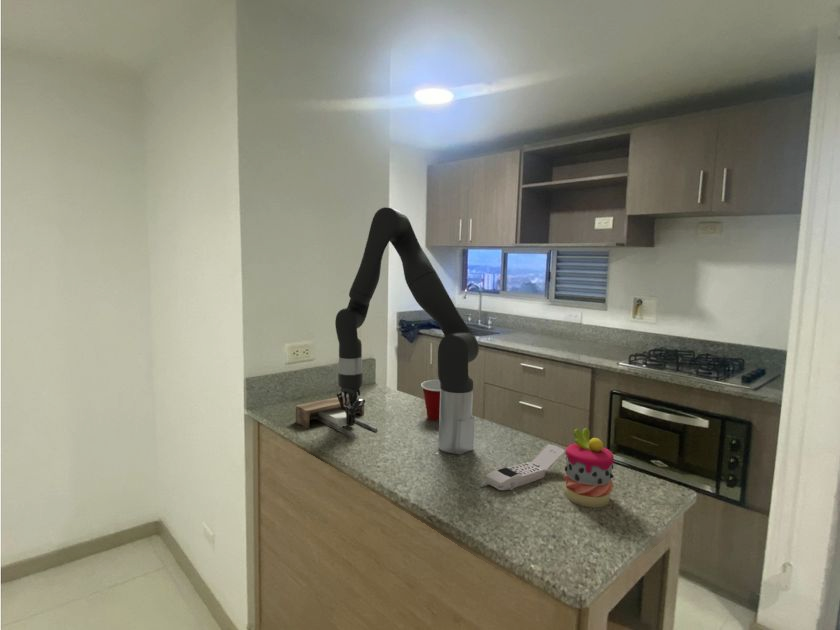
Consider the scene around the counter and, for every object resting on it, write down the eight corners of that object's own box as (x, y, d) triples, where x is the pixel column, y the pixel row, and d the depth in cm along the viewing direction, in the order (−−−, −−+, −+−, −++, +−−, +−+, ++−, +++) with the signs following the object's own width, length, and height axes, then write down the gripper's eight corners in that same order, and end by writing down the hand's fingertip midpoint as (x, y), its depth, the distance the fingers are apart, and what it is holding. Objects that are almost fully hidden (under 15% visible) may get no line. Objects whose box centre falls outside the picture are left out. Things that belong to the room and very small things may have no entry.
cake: (619, 497, 108) (623, 434, 106) (597, 513, 101) (602, 446, 99) (576, 481, 116) (580, 422, 114) (554, 495, 108) (557, 432, 107)
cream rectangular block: (354, 424, 152) (354, 415, 152) (337, 429, 148) (337, 419, 148) (334, 415, 161) (334, 406, 161) (318, 419, 157) (318, 409, 156)
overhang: (393, 426, 150) (393, 410, 150) (334, 443, 136) (334, 424, 135) (352, 409, 167) (352, 394, 167) (295, 421, 152) (295, 405, 152)
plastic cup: (415, 420, 157) (416, 385, 156) (425, 411, 167) (426, 378, 166) (446, 425, 153) (448, 389, 152) (455, 415, 164) (456, 381, 162)
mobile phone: (567, 449, 121) (496, 471, 106) (566, 472, 121) (495, 496, 107) (548, 442, 126) (478, 462, 111) (547, 464, 126) (477, 486, 112)
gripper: (372, 373, 145) (372, 427, 147) (348, 366, 155) (348, 417, 156) (352, 376, 140) (352, 433, 142) (328, 369, 149) (329, 422, 151)
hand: (350, 424), depth 149 cm, fingers closed
